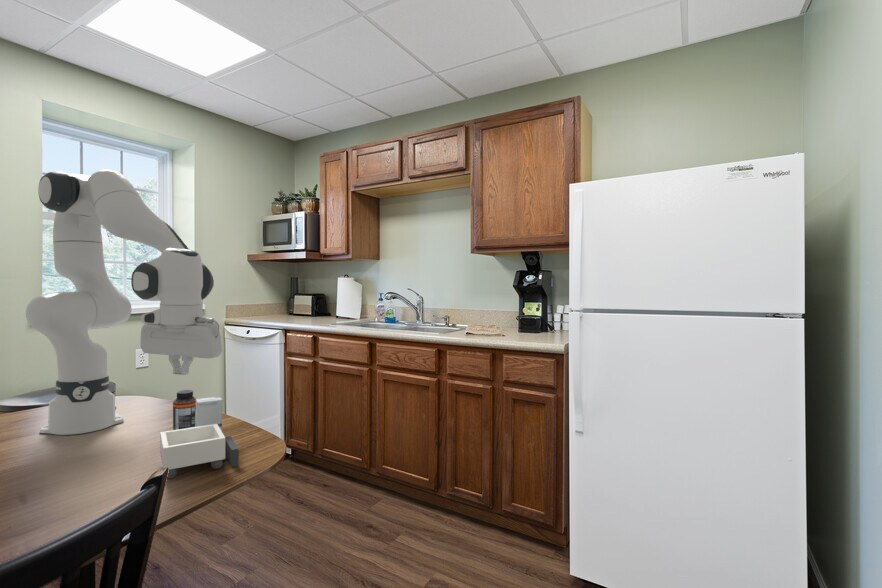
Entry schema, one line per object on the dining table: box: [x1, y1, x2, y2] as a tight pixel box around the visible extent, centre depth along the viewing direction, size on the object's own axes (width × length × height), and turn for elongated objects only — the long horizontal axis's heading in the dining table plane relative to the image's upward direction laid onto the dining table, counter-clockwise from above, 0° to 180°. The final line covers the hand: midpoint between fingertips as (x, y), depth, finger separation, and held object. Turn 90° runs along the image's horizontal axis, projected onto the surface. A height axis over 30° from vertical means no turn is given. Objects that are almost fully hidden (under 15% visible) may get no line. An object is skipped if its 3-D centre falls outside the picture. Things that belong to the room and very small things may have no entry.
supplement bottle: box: [172, 389, 197, 430], centre depth 128 cm, size 6×6×11 cm
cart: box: [159, 424, 226, 479], centre depth 103 cm, size 12×12×7 cm
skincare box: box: [195, 396, 224, 432], centre depth 117 cm, size 6×4×12 cm
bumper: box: [225, 436, 240, 468], centre depth 108 cm, size 10×2×4 cm, turn 35°
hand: (180, 374), depth 107 cm, fingers closed
